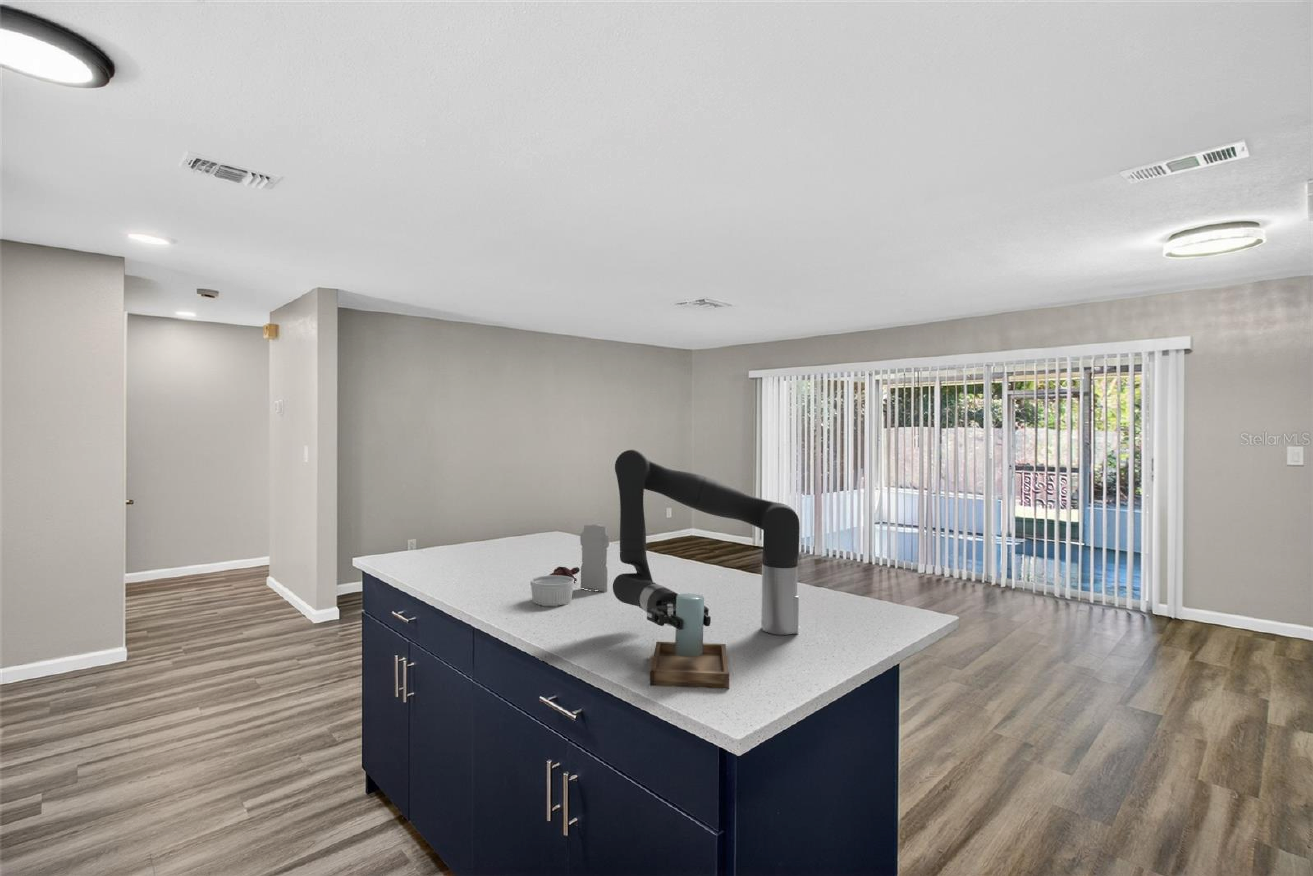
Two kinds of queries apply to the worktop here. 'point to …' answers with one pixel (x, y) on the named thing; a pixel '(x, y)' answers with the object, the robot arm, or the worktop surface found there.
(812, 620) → the worktop surface
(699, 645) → the pale blue cylinder
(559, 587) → the ramekin
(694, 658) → the tray
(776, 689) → the worktop surface
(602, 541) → the tall pale column
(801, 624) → the worktop surface
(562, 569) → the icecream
